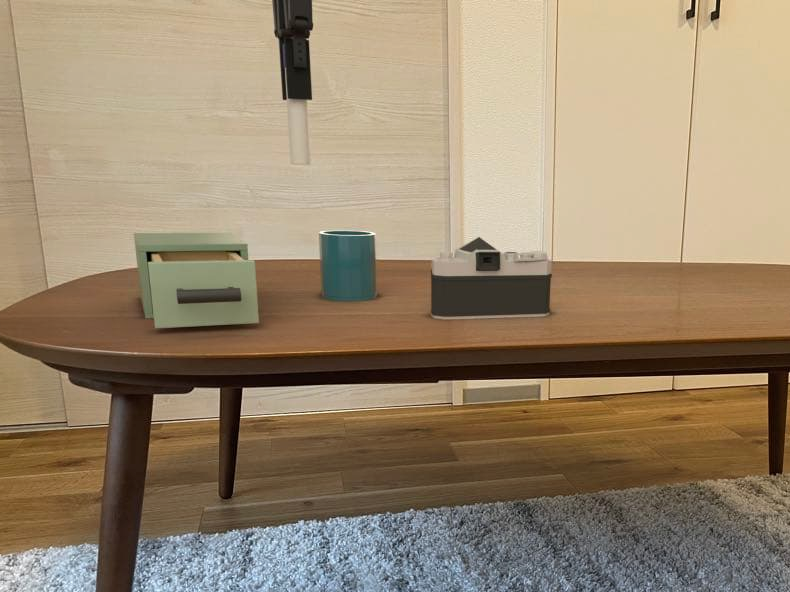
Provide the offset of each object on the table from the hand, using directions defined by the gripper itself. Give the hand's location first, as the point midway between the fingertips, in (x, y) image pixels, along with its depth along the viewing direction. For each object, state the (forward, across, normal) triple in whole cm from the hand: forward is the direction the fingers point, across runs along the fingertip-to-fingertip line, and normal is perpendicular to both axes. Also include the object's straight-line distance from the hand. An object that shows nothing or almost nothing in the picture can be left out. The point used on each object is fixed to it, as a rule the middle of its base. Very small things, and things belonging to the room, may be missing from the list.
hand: (297, 99), depth 94 cm
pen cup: (+25, +4, -6) cm, 26 cm away
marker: (+8, 0, 0) cm, 8 cm away
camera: (+26, -11, -20) cm, 35 cm away
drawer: (+24, -10, +13) cm, 29 cm away
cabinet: (+25, +2, +14) cm, 29 cm away
